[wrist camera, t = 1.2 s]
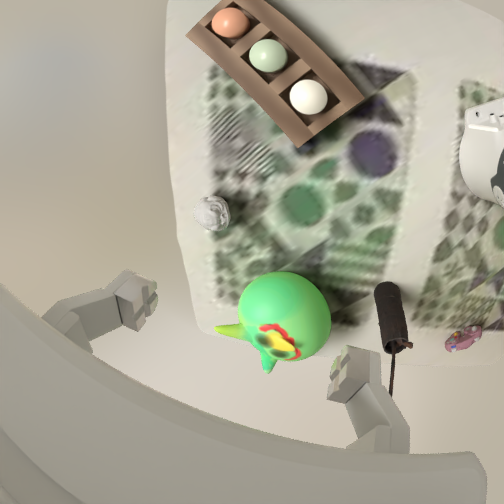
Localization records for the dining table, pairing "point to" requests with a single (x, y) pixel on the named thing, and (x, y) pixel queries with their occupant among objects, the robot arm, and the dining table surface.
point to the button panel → (280, 83)
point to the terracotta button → (230, 23)
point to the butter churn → (391, 322)
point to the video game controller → (463, 339)
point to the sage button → (268, 56)
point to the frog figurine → (212, 213)
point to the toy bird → (281, 318)
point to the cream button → (308, 97)
